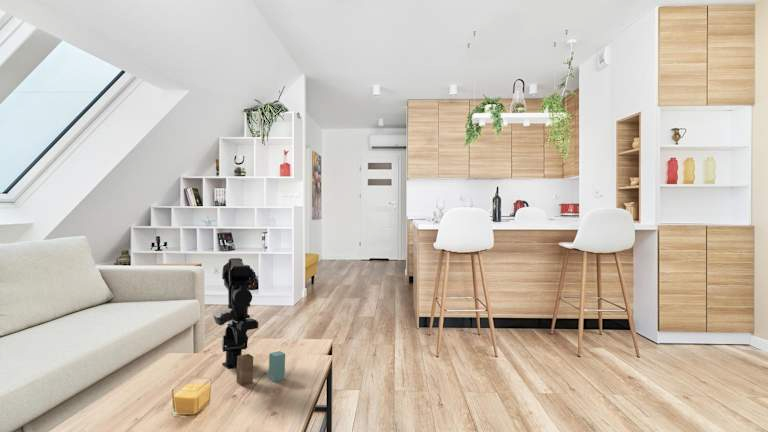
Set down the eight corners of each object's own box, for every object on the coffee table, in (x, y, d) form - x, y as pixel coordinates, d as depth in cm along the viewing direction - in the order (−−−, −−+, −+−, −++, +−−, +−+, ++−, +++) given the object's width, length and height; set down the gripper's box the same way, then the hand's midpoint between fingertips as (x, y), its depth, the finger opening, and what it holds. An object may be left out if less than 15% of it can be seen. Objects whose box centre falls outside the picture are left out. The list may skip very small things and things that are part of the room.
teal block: (268, 378, 143) (269, 353, 143) (279, 376, 146) (279, 350, 146) (274, 382, 140) (274, 356, 140) (284, 379, 143) (285, 353, 143)
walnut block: (236, 382, 139) (237, 356, 139) (247, 379, 142) (248, 353, 142) (241, 385, 136) (242, 359, 136) (252, 382, 139) (253, 356, 139)
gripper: (206, 299, 145) (205, 342, 145) (227, 308, 132) (226, 356, 131) (237, 295, 153) (236, 337, 153) (259, 304, 139) (258, 349, 139)
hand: (238, 344), depth 144 cm, fingers closed
